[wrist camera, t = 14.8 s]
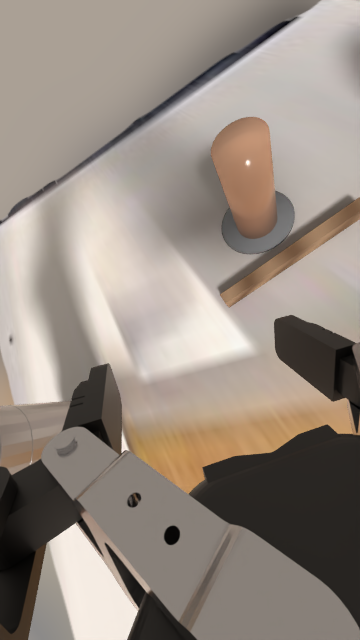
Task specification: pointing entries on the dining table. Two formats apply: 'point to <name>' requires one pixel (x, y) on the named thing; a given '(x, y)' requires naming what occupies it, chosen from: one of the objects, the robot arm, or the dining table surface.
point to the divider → (293, 253)
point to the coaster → (265, 242)
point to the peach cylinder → (247, 175)
